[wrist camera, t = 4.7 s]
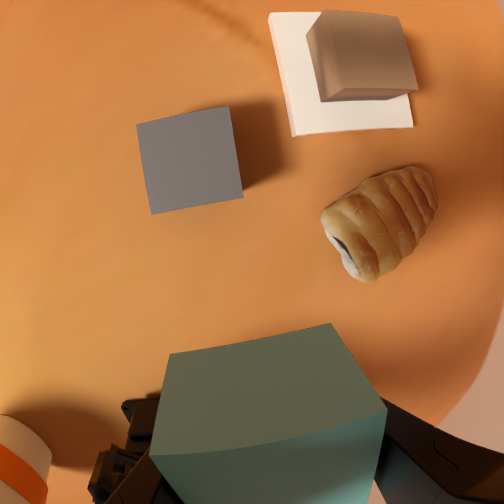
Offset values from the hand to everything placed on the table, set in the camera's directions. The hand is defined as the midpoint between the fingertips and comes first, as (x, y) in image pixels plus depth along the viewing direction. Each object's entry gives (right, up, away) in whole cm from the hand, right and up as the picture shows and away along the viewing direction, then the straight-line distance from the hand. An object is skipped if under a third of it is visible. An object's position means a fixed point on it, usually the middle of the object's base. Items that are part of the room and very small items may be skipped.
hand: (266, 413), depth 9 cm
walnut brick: (+6, +17, +8) cm, 20 cm away
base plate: (+6, +18, +10) cm, 21 cm away
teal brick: (0, 0, +1) cm, 1 cm away
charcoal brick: (-4, +11, +11) cm, 16 cm away
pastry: (+8, +8, +13) cm, 17 cm away
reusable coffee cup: (-29, -19, +16) cm, 38 cm away
